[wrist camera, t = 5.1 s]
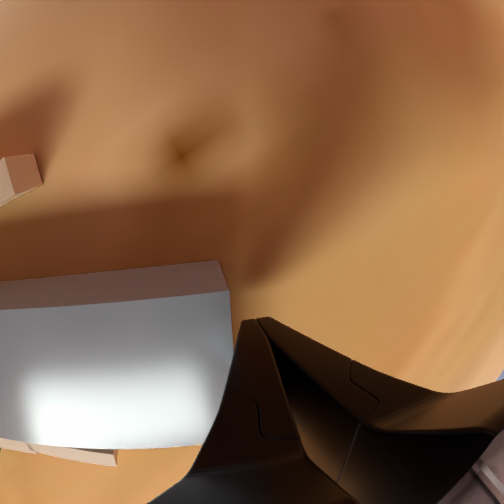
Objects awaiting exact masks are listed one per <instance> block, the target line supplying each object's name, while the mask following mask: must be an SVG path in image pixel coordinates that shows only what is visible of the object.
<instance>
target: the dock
mask: <svg viewBox="0 0 504 504" xmlns="http://www.w3.org/2000/svg"><path fill="white" fill-rule="evenodd" d="M41 185H43V184H42V180H41V177H40V174H39V170H38V167H37V163H36V160H35V156H34V153H32V154H23V155H15V156H7V157H3V158H2V159H0V207H1V206H3V205H5V204H6V203H8V202H10V201H12V200H14V199H16V198H18V197H19V196H21V195H23V194H25V193H27V192H29V191H31V190H33V189H35V188H37V187H39V186H41ZM1 448H5V449H10V450H15V451H21V452H27V453H34V454H38V453H42V454H46V455H51V456H55V457H60V458H64V459H69V460H74V461H80V462H86V463H92V464H99V465H106V466H114V467H117V454H118V449H88V448H71V447H60V446H50V445H41V444H34V443H27V442H21V441H15V440H9V439H4V438H0V450H1Z"/></svg>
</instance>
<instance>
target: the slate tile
mask: <svg viewBox="0 0 504 504" xmlns="http://www.w3.org/2000/svg"><path fill="white" fill-rule="evenodd" d="M233 354H234V351H233V337H232V322H231V306H230V290H229V288H228V285H227V283H226V280H225V277H224V275H223V272H222V269H221V267H220V264H219V261H218V260H212V261H202V262H192V263H183V264H173V265H163V266H153V267H143V268H133V269H124V270H114V271H104V272H93V273H83V274H73V275H63V276H53V277H43V278H32V279H22V280H11V281H1V282H0V438H4V439H9V440H15V441H21V442H27V443H34V444H41V445H50V446H60V447H71V448H88V449H151V448H168V447H181V446H191V445H200V444H203V443H204V441H205V439H206V437H207V435H208V433H209V431H210V429H211V427H212V424H213V422H214V420H215V417H216V415H217V413H218V410H219V407H220V403H221V400H222V397H223V393H224V389H225V386H226V382H227V378H228V374H229V370H230V366H231V362H232V358H233Z"/></svg>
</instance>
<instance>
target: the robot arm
mask: <svg viewBox="0 0 504 504" xmlns="http://www.w3.org/2000/svg"><path fill="white" fill-rule="evenodd" d="M147 504H504V379H502V380H500V381H496V382H493V383H490V384H486V385H483V386H479V387H476V388H472V389H468V390H464V391H460V392H455V393H441V392H436V391H432V390H429V389H426V388H423V387H420V386H417V385H414V384H411V383H408V382H406V381H403V380H400V379H397V378H394V377H392V376H389V375H386V374H384V373H381V372H379V371H376V370H374V369H372V368H370V367H367V366H365V365H363V364H361V363H359V362H357V361H355V360H352V359H351V358H349V357H347V356H345V355H343V354H341V353H339V352H337V351H335V350H333V349H331V348H329V347H327V346H325V345H323V344H321V343H319V342H317V341H315V340H313V339H311V338H309V337H307V336H305V335H303V334H301V333H299V332H297V331H296V330H294V329H292V328H290V327H288V326H286V325H284V324H282V323H280V322H278V321H277V320H275V319H273V318H271V317H262V318H257V319H249V320H243V321H242V322H241V326H240V330H239V334H238V338H237V342H236V346H235V350H234V354H233V358H232V362H231V366H230V370H229V374H228V378H227V382H226V386H225V389H224V393H223V397H222V400H221V403H220V407H219V410H218V413H217V415H216V417H215V420H214V422H213V424H212V427H211V429H210V431H209V433H208V435H207V437H206V439H205V441H204V443H203V445H202V447H201V449H200V451H199V454H198V456H197V458H196V460H195V461H194V463H193V465H192V467H191V468H190V470H189V472H188V473H187V474H186V475H185V477H184V478H183V479H181V480H180V481H179V482H178V483H176V484H175V485H173V486H172V487H171V488H169V489H168V490H166V491H165V492H163V493H162V494H160V495H159V496H157V497H156V498H154V499H153V500H151V501H150V502H148V503H147Z"/></svg>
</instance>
